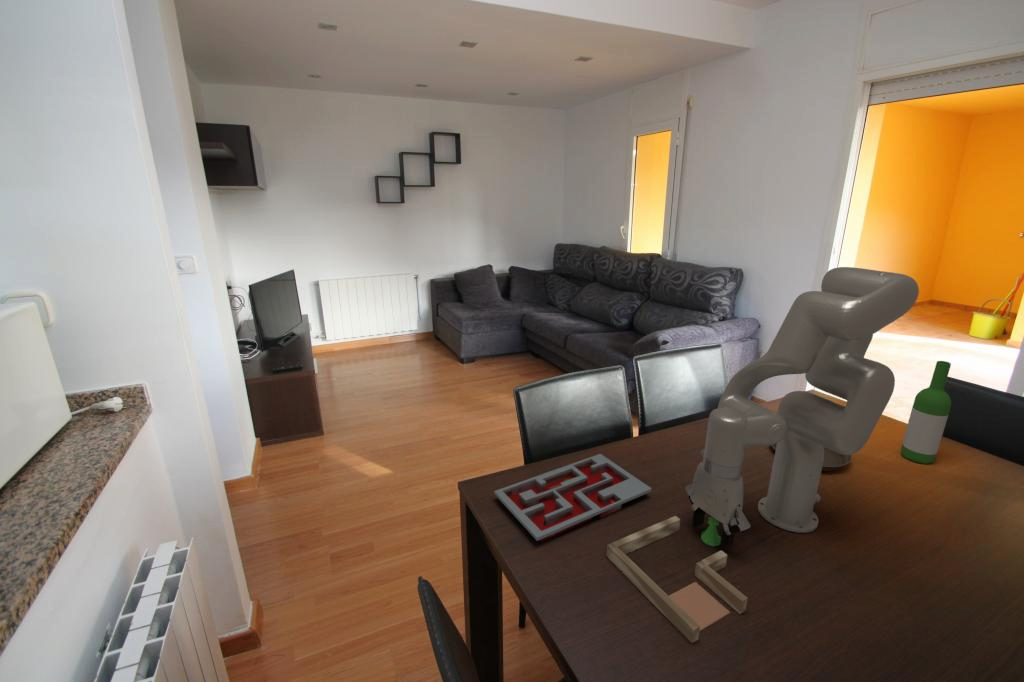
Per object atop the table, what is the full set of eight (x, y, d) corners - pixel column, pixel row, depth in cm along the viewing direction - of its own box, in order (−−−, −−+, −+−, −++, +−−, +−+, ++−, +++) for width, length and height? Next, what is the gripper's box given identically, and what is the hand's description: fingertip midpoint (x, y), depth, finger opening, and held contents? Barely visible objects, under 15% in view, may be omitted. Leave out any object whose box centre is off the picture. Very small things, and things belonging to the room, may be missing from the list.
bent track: (674, 526, 108) (675, 515, 107) (765, 598, 88) (768, 585, 87) (606, 556, 99) (607, 544, 98) (692, 643, 79) (693, 630, 78)
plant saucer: (807, 480, 126) (809, 470, 125) (752, 443, 145) (754, 434, 144) (867, 470, 130) (870, 460, 129) (807, 435, 149) (808, 426, 148)
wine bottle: (931, 455, 137) (959, 360, 128) (936, 468, 131) (966, 369, 122) (897, 448, 141) (923, 356, 132) (901, 460, 135) (928, 363, 126)
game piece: (725, 541, 103) (728, 518, 101) (714, 549, 101) (717, 526, 99) (707, 530, 106) (710, 508, 105) (696, 538, 104) (699, 515, 102)
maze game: (536, 549, 101) (537, 537, 100) (494, 501, 117) (494, 491, 116) (650, 499, 118) (651, 488, 117) (599, 463, 134) (600, 453, 133)
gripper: (677, 450, 104) (669, 517, 109) (747, 492, 89) (734, 567, 94) (700, 442, 107) (692, 508, 112) (771, 481, 92) (757, 554, 97)
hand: (711, 534), depth 103 cm, fingers open, 6 cm apart
